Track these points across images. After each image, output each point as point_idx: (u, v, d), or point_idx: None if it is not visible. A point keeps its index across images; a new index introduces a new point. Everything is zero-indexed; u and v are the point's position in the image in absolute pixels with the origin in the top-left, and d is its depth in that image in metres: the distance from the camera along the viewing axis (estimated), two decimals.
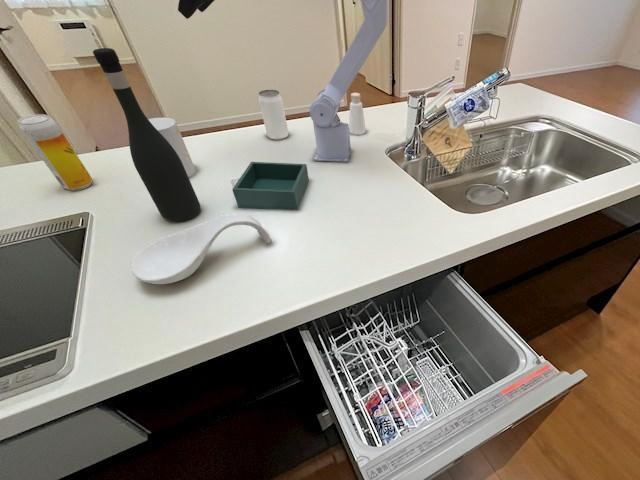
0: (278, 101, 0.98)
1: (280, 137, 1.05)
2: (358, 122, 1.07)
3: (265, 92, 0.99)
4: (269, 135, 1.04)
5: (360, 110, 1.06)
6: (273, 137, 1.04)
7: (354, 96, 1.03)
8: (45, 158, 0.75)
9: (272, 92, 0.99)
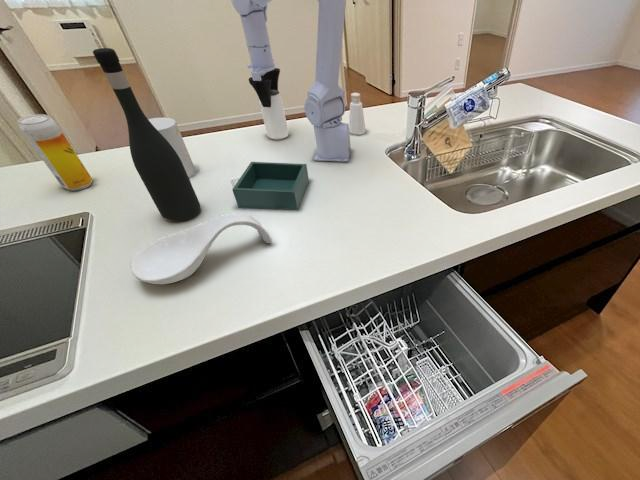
0: (278, 101, 0.98)
1: (280, 137, 1.05)
2: (358, 122, 1.07)
3: None
4: (269, 135, 1.04)
5: (360, 110, 1.06)
6: (273, 137, 1.04)
7: (354, 96, 1.03)
8: (45, 158, 0.75)
9: (272, 92, 0.99)
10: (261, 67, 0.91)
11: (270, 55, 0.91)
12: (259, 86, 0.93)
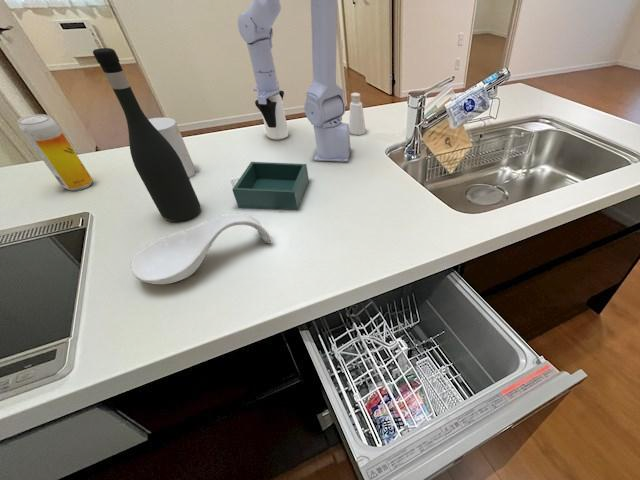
0: (278, 101, 0.98)
1: (280, 137, 1.05)
2: (358, 122, 1.07)
3: None
4: (269, 135, 1.04)
5: (360, 110, 1.06)
6: (273, 137, 1.04)
7: (354, 96, 1.03)
8: (45, 158, 0.75)
9: None
10: (267, 91, 0.95)
11: (275, 79, 0.95)
12: (265, 108, 0.98)
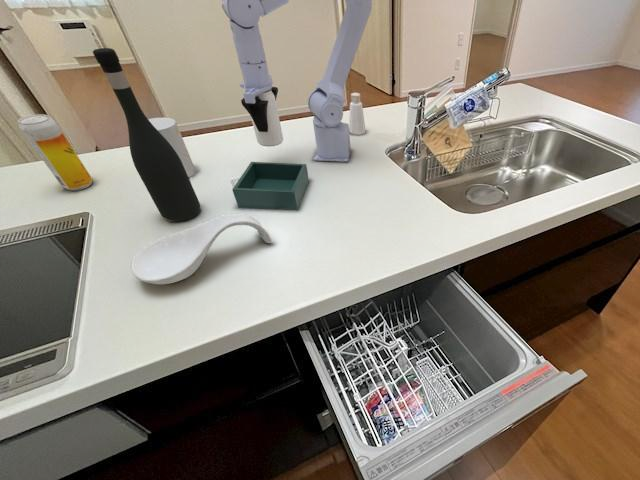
0: (270, 99, 0.80)
1: (273, 143, 0.86)
2: (358, 122, 1.07)
3: None
4: (259, 141, 0.86)
5: (360, 110, 1.06)
6: (264, 143, 0.86)
7: (354, 96, 1.03)
8: (45, 158, 0.75)
9: None
10: (256, 87, 0.77)
11: (266, 73, 0.77)
12: (254, 108, 0.79)
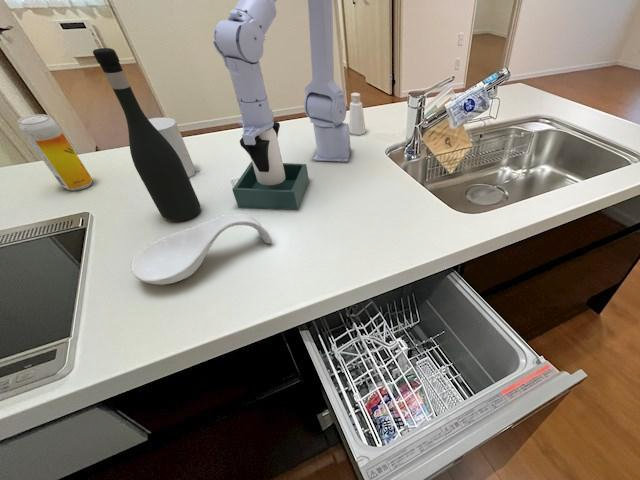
0: (271, 138, 0.73)
1: (274, 183, 0.79)
2: (358, 122, 1.07)
3: None
4: (260, 180, 0.79)
5: (360, 110, 1.06)
6: (265, 183, 0.79)
7: (354, 96, 1.03)
8: (45, 158, 0.75)
9: None
10: (256, 126, 0.70)
11: (267, 110, 0.70)
12: (254, 148, 0.72)
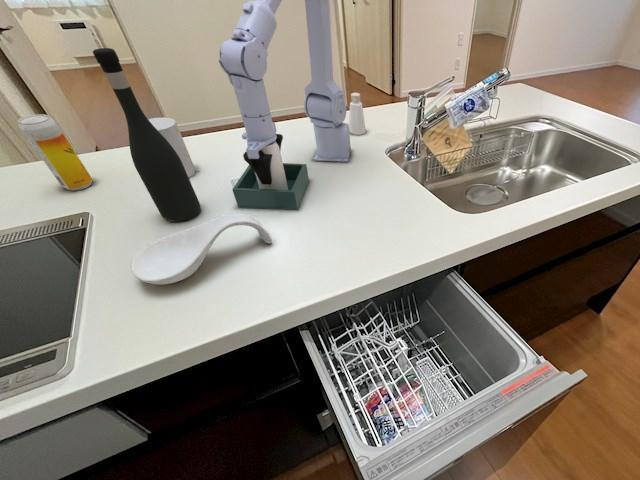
0: (274, 152, 0.75)
1: None
2: (358, 122, 1.07)
3: None
4: None
5: (360, 110, 1.06)
6: None
7: (354, 96, 1.03)
8: (45, 158, 0.75)
9: None
10: (259, 140, 0.72)
11: (270, 124, 0.72)
12: (257, 162, 0.74)
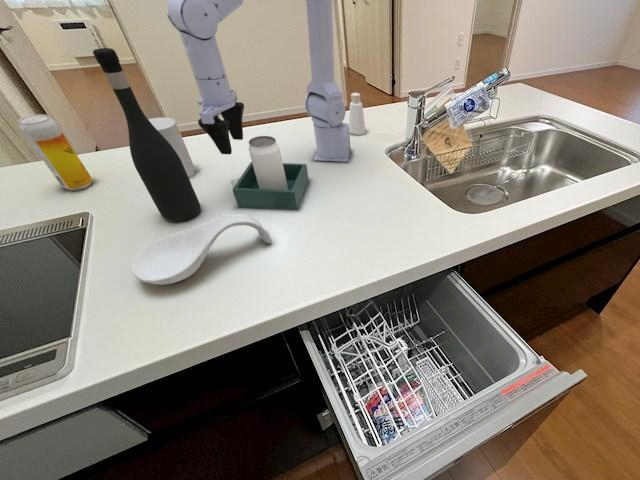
0: (274, 152, 0.75)
1: None
2: (358, 122, 1.07)
3: (257, 140, 0.76)
4: None
5: (360, 110, 1.06)
6: None
7: (354, 96, 1.03)
8: (45, 158, 0.75)
9: (266, 140, 0.76)
10: (215, 105, 0.69)
11: (227, 89, 0.68)
12: (214, 129, 0.70)
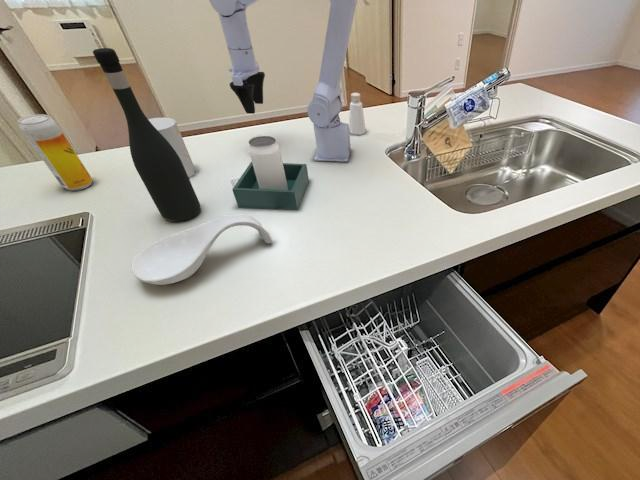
0: (274, 152, 0.75)
1: None
2: (358, 122, 1.07)
3: (257, 140, 0.76)
4: None
5: (360, 110, 1.06)
6: None
7: (354, 96, 1.03)
8: (45, 158, 0.75)
9: (266, 140, 0.76)
10: (243, 71, 0.85)
11: (253, 58, 0.85)
12: (241, 91, 0.87)
